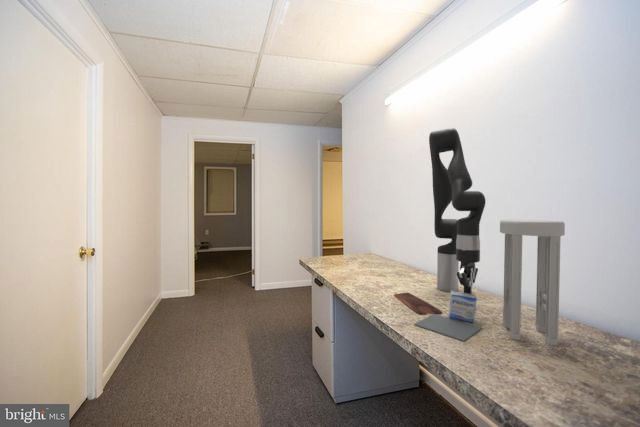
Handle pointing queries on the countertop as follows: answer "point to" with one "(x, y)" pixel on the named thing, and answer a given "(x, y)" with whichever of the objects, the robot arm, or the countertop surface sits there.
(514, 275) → the stool
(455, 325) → the mat
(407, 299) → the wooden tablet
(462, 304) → the medicine box
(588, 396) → the countertop surface
